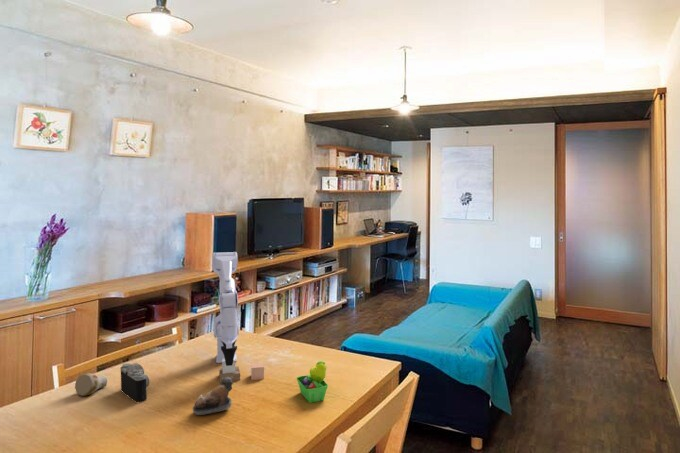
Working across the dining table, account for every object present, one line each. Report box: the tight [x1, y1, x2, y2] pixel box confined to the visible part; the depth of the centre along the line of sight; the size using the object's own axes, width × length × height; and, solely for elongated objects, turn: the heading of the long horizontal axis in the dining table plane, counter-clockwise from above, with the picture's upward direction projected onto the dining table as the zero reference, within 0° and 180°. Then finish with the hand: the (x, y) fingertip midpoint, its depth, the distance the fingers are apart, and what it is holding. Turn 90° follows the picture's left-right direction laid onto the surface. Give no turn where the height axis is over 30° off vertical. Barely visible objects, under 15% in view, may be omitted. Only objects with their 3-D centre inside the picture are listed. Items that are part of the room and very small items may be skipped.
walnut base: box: [218, 366, 241, 383], centre depth 162 cm, size 7×7×3 cm
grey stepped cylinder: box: [74, 372, 108, 396], centre depth 150 cm, size 7×10×10 cm
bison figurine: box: [192, 376, 234, 416], centre depth 136 cm, size 12×7×10 cm, turn 114°
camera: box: [120, 362, 150, 403], centre depth 148 cm, size 15×7×10 cm, turn 47°
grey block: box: [221, 356, 236, 374], centre depth 162 cm, size 4×4×4 cm
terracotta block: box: [250, 362, 265, 381], centre depth 163 cm, size 4×4×4 cm
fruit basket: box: [296, 360, 329, 404], centre depth 147 cm, size 11×9×11 cm
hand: (229, 361), depth 162 cm, fingers open, 7 cm apart
